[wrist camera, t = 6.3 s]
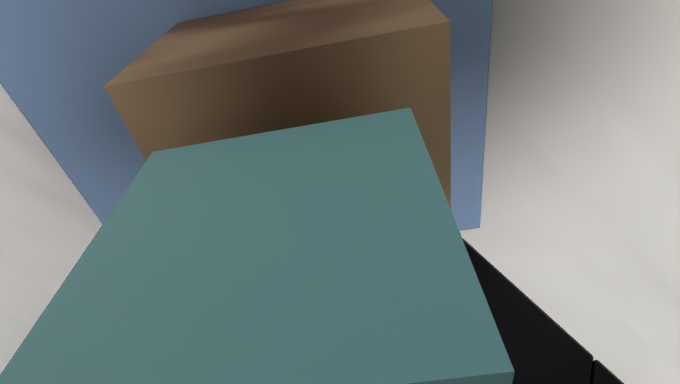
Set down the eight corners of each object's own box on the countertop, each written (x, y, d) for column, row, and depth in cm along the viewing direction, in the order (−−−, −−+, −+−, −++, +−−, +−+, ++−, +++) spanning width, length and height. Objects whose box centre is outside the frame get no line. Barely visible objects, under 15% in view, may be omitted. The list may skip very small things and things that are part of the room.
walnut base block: (249, 199, 16) (223, 298, 12) (177, 22, 12) (103, 86, 8) (419, 172, 16) (451, 268, 12) (407, -23, 11) (450, 21, 7)
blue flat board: (145, 266, 19) (140, 276, 19) (-37, 6, 12) (-52, 11, 12) (475, 218, 18) (479, 227, 17) (490, -106, 11) (498, -106, 10)
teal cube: (237, 308, 11) (183, 557, 7) (152, 151, 8) (-40, 433, 4) (423, 283, 10) (485, 533, 6) (410, 107, 7) (514, 371, 3)
